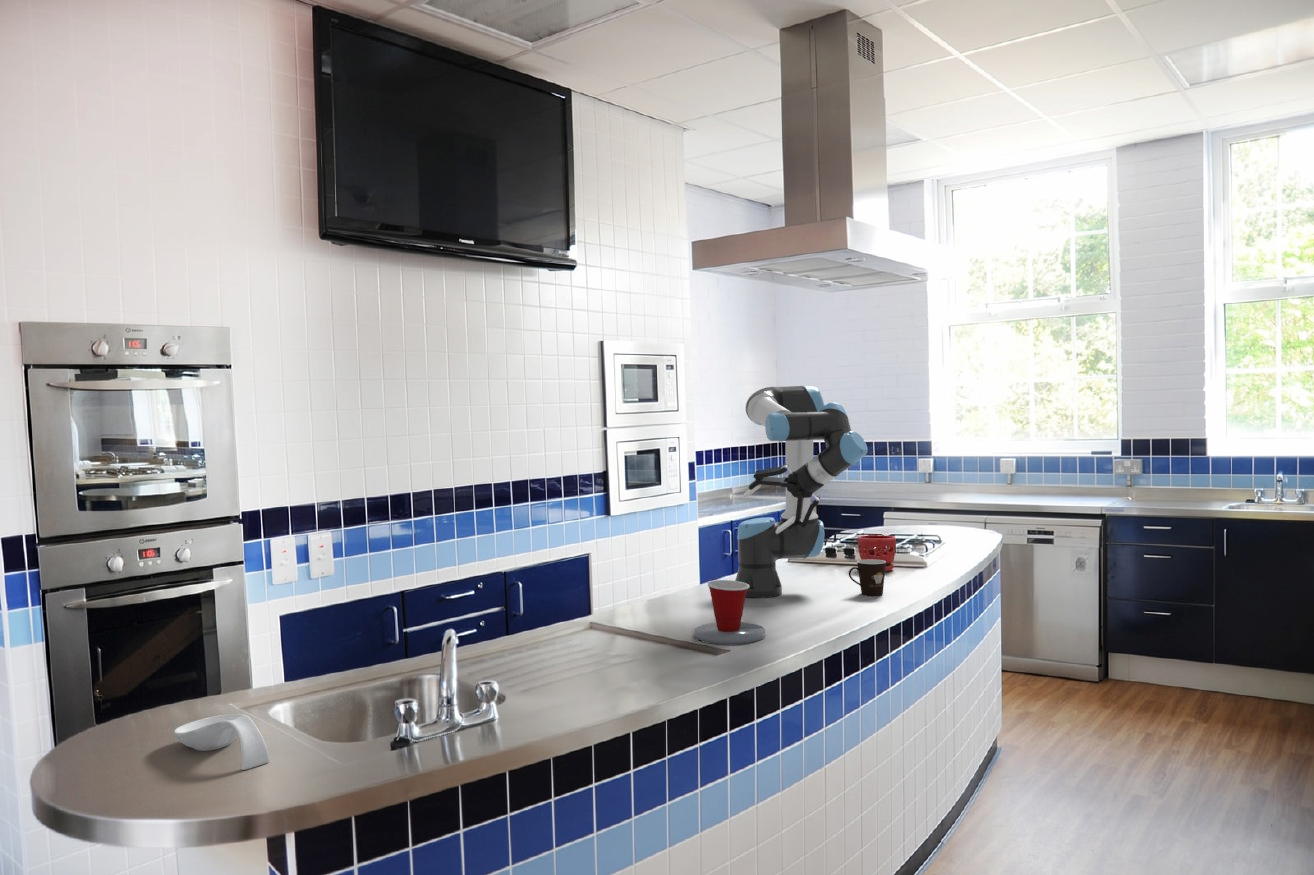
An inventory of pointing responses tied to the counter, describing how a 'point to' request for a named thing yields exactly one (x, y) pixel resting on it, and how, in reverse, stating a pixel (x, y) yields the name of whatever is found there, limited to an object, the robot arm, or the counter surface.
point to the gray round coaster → (730, 634)
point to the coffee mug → (870, 576)
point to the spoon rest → (226, 737)
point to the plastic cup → (728, 603)
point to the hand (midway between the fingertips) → (760, 513)
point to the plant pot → (878, 548)
